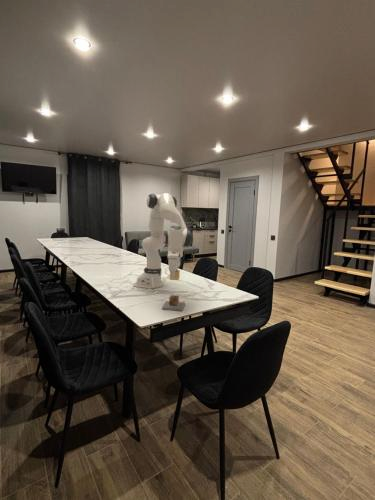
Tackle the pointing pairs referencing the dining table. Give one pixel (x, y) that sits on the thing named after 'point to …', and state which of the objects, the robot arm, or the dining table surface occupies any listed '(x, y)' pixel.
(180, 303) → the plate
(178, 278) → the block
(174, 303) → the block
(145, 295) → the dining table surface
